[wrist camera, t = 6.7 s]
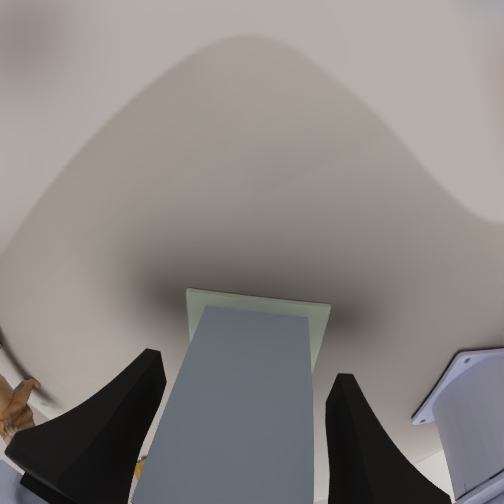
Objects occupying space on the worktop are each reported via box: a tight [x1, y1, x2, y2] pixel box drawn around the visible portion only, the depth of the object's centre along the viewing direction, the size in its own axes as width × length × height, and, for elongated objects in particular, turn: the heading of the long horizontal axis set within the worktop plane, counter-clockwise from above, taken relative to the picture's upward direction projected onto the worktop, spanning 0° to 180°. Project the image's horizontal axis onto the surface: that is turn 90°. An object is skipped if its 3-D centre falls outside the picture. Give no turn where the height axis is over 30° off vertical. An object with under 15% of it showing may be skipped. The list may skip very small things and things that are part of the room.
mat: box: [186, 288, 331, 373], centre depth 20 cm, size 7×28×1 cm, turn 176°
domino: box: [131, 305, 314, 504], centre depth 10 cm, size 2×5×10 cm, turn 86°
